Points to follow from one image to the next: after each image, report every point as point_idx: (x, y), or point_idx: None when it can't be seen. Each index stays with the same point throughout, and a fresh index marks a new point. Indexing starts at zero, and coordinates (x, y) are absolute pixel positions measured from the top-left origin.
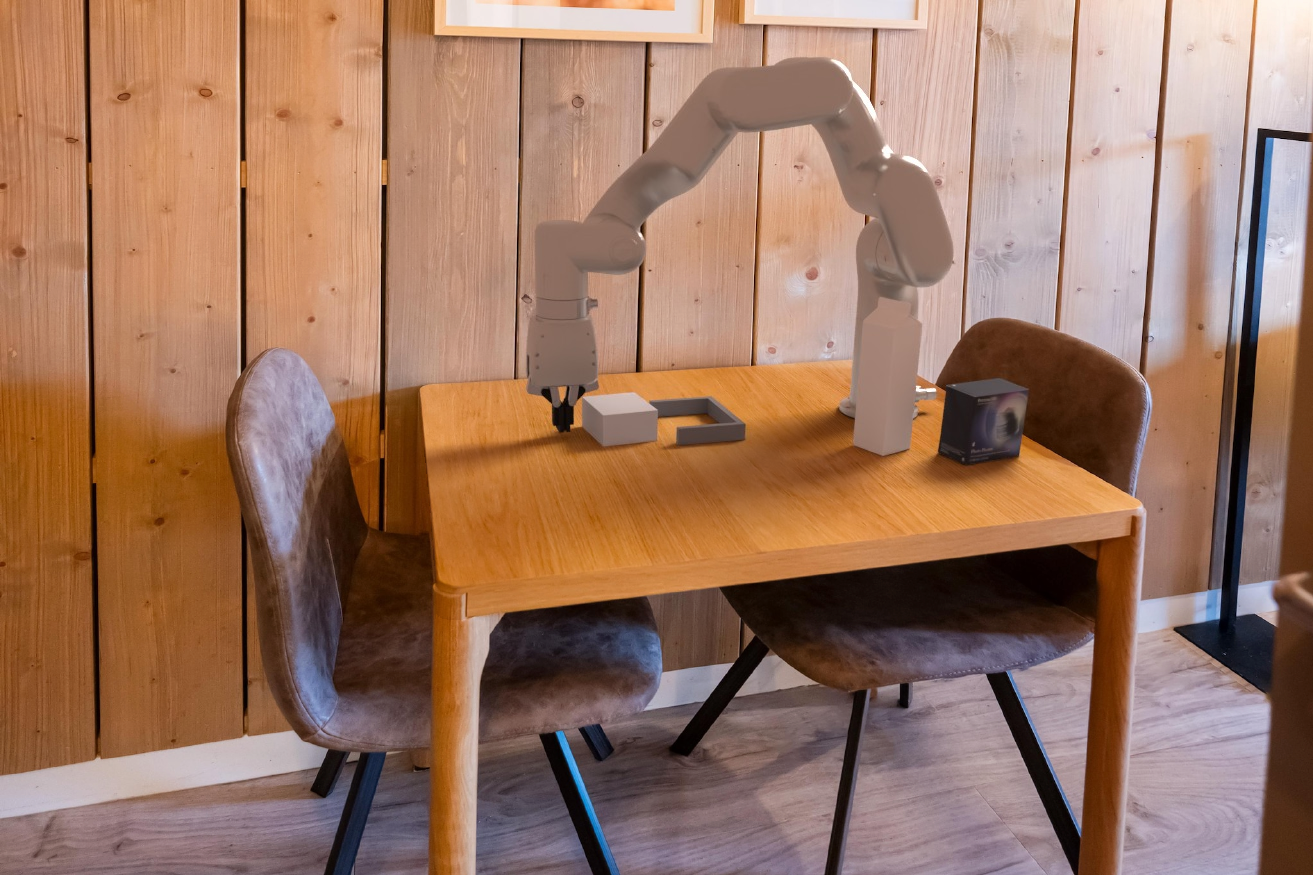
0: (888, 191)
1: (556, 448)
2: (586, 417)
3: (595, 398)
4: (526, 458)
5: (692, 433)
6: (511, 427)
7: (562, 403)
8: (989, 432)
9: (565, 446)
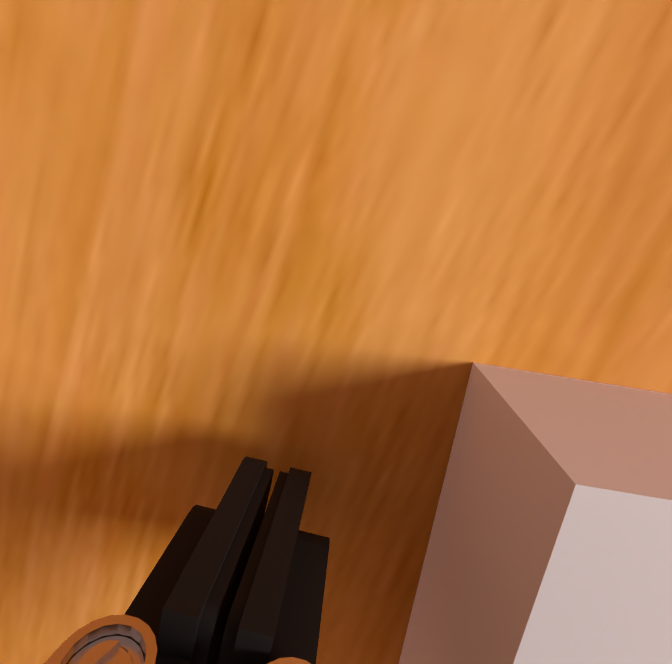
0: None
1: None
2: (475, 495)
3: (669, 600)
4: (32, 630)
5: None
6: (59, 176)
7: (221, 660)
8: None
9: None
